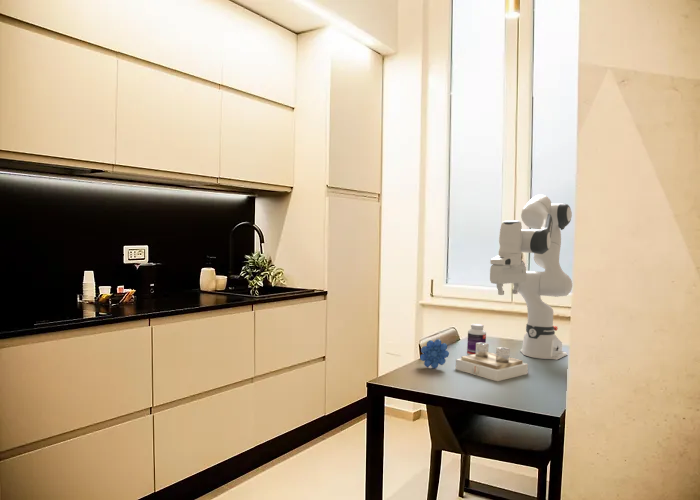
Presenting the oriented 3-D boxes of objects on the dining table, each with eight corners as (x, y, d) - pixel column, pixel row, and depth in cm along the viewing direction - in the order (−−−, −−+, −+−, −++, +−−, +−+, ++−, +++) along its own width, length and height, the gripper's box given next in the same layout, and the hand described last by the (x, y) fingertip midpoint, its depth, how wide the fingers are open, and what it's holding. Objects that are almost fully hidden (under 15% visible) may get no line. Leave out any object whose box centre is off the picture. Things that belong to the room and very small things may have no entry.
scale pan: (487, 354, 218) (487, 351, 218) (522, 363, 205) (522, 360, 205) (461, 359, 208) (461, 356, 208) (496, 369, 194) (496, 366, 194)
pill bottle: (485, 359, 227) (487, 326, 227) (467, 357, 229) (468, 325, 228) (484, 355, 235) (486, 323, 235) (466, 353, 237) (468, 322, 236)
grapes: (449, 367, 210) (451, 338, 210) (447, 371, 204) (448, 341, 204) (421, 364, 214) (423, 335, 214) (418, 367, 208) (419, 338, 207)
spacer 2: (500, 359, 206) (501, 346, 206) (511, 361, 202) (512, 349, 202) (493, 360, 203) (493, 348, 203) (504, 363, 199) (504, 350, 199)
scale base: (486, 362, 220) (486, 353, 220) (527, 373, 205) (528, 363, 205) (454, 369, 208) (455, 359, 208) (496, 381, 192) (496, 371, 192)
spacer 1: (480, 354, 214) (481, 341, 214) (490, 356, 210) (491, 344, 210) (472, 355, 211) (473, 343, 210) (482, 358, 207) (483, 345, 207)
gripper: (517, 259, 216) (516, 292, 216) (487, 259, 203) (486, 294, 204) (531, 260, 211) (529, 294, 212) (501, 260, 198) (499, 296, 199)
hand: (508, 294), depth 208 cm, fingers open, 8 cm apart
